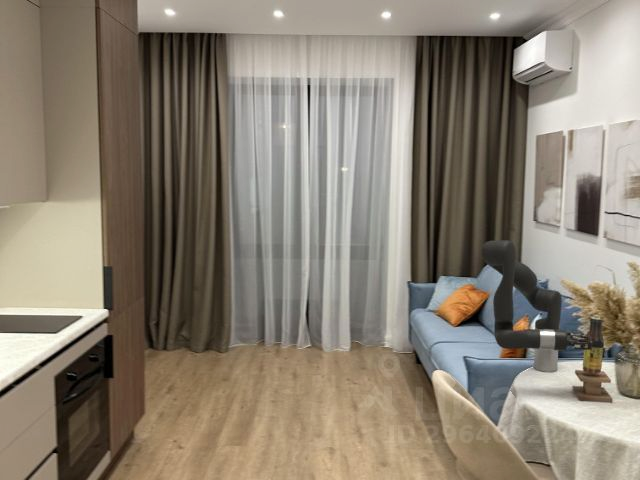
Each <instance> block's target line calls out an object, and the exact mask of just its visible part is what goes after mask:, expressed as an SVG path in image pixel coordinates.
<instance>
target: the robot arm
mask: <svg viewBox="0 0 640 480" xmlns="http://www.w3.org/2000/svg"><path fill="white" fill-rule="evenodd" d="M480 250H481V251H480V253H481V257H482V259H483V261H484V263H486V265H488V266H489V267H490V268H492V269H493V270H495V271H497V272H498V273H499V274H500V275H501V276H502V277H501V281H500V282H499V284H498V287H497V288H496V290H495V293H494V294H493V299H492V301H493V302H492V303H493V305H492V306H493V315H494V317H493V318H494V324H493V325H494V328H493V331H494V332H493V333H494V338H495V339H494V340H495V341H496V344H497V345H498V346H499V347H501V348H503V349H506V350H516V349H517V350H518V349H534V351H533V352H534V353H533V354H534V355H533V368H534V369H535V370H537V371H540V372H544V373H545V372H546V373H547V372H548V373H552V372H553V373H554V372H556V371H558V367H559V366H558V361H559V352H560V351H561V352H564V351H567V348H568V347H571V348H573V349H574V350H575V351H576V350H583V351H584V350H592V348H603V349H604V346H605V343H603V342H601V341H589V340H586V339H585V338H586V334H585V333H578V332H577V333H576V332H567V331H566V330H565V329H559V328H560V323H561V315H562V305H563V304H562V303H563V299H562V297H563V296H562V294H561V293H560V291H558V290H552V289H546V288H541V287H539V286H537V285H538V277H537V274H536V273H535V272H534V271H533V270H532V269H531V267H529V266H528V265H527V264H524V263H523V262H521V261H518V260H517V254H516V253H517V251H516V245H515V244H514V242H513V241H511V240H504V239H503V240H489V241H486V242H485V243H484V244H483V245H482V247H481V249H480ZM514 288H515V289H516V290H518V291H519V293H520V294H521V295H523V296H524V298H526V301H528V303H529V305H530V306H532V308H533V309H534V310H536V311H539V312H544V313H547V315H546V317H544V318H539V319H536V320H535V322H534V328H526V329H523V330H514V321H513V320H514V317H515V313H514V295H513V294H514ZM586 344H588V346H586Z"/></svg>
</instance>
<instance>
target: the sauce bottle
mask: <svg viewBox="0 0 640 480" xmlns="http://www.w3.org/2000/svg"><path fill="white" fill-rule="evenodd" d="M595 317H596V316H590V318H589V321H590V326H589V330H588V331H587V332H586V334H585V335H586V338H585V339H586V340H589V341H601V342H603V343H604V342H605V341H604V340H605V339H604V337H603V332H602V324H603V318H602V319H600V318H601V317H599V318H595ZM604 344H605V343H604ZM586 346H588V344H586ZM603 353H604V347H603V348H592V350H583V357H582V358H583V359H582V360H583V361H582V370H584V371H585V372H588V373H600V372H601V371H602V367H603V358H604V357H603Z"/></svg>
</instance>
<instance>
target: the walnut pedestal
mask: <svg viewBox="0 0 640 480" xmlns="http://www.w3.org/2000/svg"><path fill="white" fill-rule="evenodd" d="M574 375H576V377H577V378H578V380H579V381H580V382H582V386H579V385H572V388H571V389H572V391H573V393H574V395H575V397H576V398H577V400H578V402H595V403H597V402H598V403H609V404H610V403H613V397H612V396H611V395H610V393H609V392H608V391H607V390H606V388H605V387H602V383H604V384H605V383H606V384H611V383H612V380H611V378H610V376H608V374H606V372H605V371H603V370H601V372H600V373H588V372H585V371H584V370H583V369H575V370H574Z"/></svg>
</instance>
